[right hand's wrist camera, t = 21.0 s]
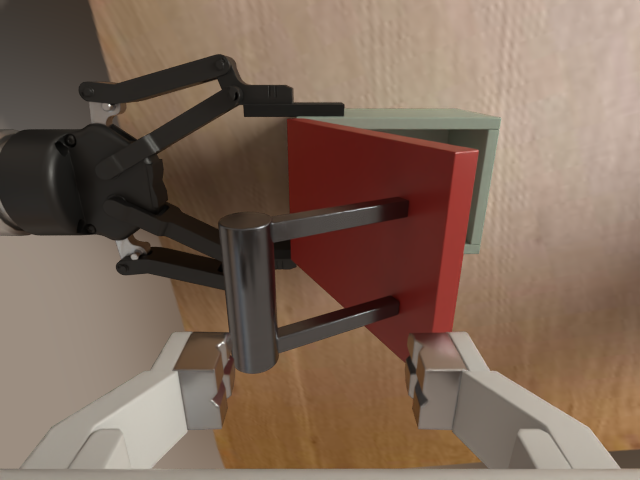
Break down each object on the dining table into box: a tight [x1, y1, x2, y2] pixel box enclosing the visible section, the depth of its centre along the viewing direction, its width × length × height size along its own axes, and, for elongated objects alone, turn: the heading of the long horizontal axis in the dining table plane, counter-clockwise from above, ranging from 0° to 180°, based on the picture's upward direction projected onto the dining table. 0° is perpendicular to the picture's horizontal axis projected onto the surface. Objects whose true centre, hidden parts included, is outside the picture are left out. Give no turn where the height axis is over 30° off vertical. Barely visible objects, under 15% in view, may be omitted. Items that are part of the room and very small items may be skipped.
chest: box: [296, 109, 501, 254], centre depth 31 cm, size 13×10×8 cm
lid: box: [218, 118, 479, 374], centre depth 19 cm, size 14×10×8 cm
